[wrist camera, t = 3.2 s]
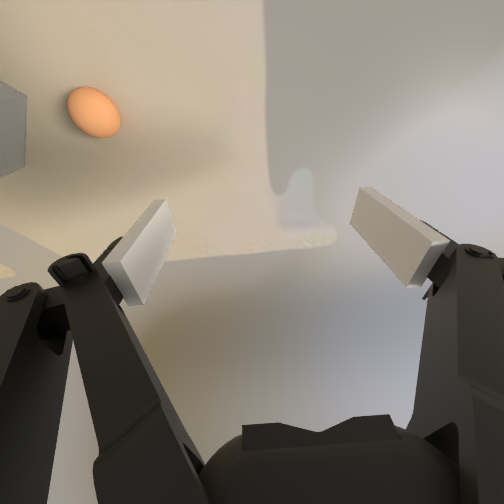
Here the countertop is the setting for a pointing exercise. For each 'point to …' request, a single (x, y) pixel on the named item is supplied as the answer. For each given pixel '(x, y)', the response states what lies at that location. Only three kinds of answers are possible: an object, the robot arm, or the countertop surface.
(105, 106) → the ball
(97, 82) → the countertop surface
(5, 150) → the gray tapered block
